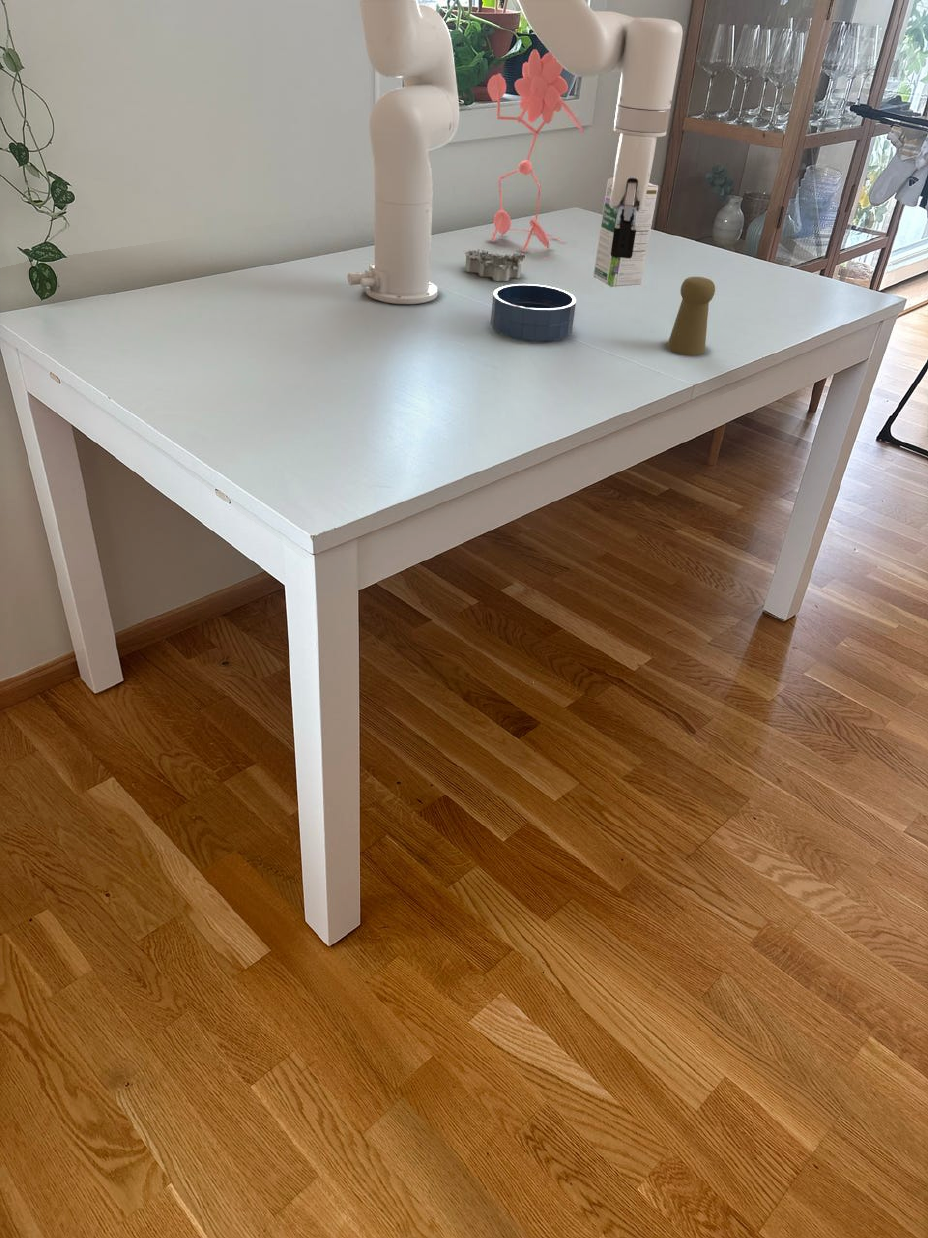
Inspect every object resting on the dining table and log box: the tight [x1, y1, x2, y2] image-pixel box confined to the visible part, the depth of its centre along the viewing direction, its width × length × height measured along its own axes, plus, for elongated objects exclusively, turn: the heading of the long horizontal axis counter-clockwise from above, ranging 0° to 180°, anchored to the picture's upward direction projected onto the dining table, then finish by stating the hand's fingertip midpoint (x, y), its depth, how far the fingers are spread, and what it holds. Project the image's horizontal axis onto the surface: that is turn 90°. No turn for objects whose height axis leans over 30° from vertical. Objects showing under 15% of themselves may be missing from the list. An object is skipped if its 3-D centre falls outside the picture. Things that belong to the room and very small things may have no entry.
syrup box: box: [593, 177, 659, 288], centre depth 142 cm, size 6×6×14 cm
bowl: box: [490, 283, 577, 343], centre depth 151 cm, size 13×13×6 cm
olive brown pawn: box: [666, 276, 716, 356], centre depth 147 cm, size 6×6×11 cm
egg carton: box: [463, 248, 526, 282], centre depth 177 cm, size 11×8×4 cm
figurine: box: [486, 48, 585, 259], centre depth 188 cm, size 15×26×35 cm, turn 44°
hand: (621, 249), depth 143 cm, fingers closed on syrup box, 7 cm apart
